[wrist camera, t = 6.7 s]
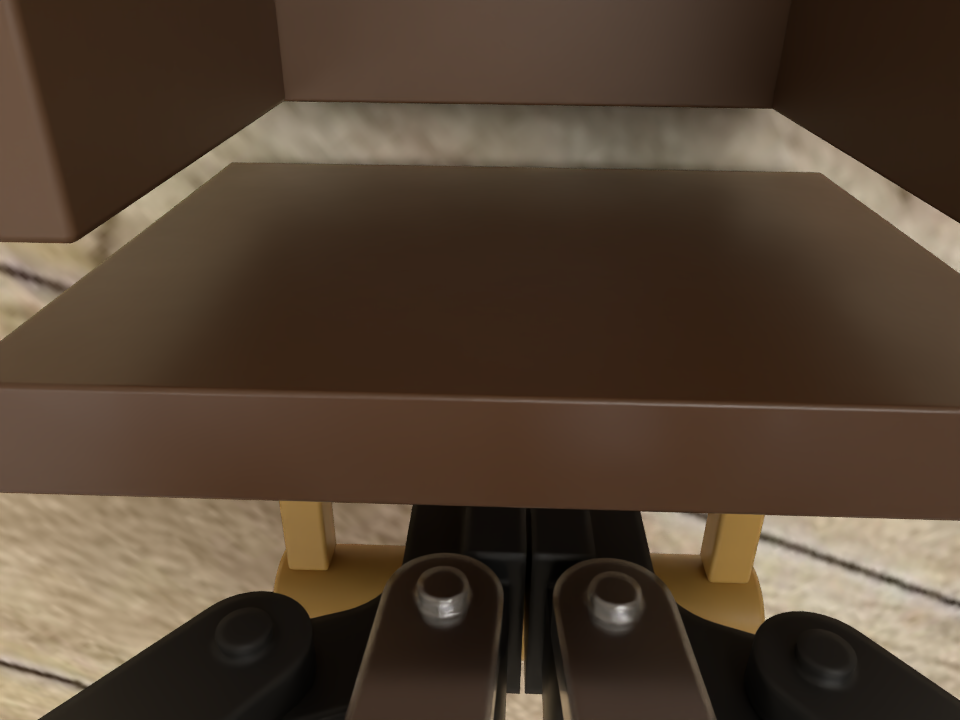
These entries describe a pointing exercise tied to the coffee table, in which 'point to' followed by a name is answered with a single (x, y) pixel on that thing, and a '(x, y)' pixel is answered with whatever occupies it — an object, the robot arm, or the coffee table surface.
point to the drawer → (486, 275)
